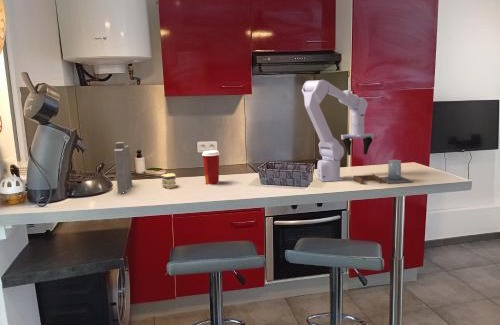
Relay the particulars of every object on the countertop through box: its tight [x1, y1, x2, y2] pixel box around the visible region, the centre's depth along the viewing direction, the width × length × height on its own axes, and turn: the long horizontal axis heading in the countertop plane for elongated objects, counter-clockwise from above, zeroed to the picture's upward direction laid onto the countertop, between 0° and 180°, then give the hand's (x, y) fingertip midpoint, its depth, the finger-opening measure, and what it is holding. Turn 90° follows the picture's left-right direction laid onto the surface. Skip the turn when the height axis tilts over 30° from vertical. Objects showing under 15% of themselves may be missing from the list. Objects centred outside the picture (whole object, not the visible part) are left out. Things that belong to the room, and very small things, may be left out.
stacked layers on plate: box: [160, 172, 177, 189], centre depth 173 cm, size 10×9×6 cm
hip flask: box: [113, 141, 133, 194], centre depth 170 cm, size 16×4×20 cm, turn 5°
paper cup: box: [201, 150, 220, 185], centre depth 177 cm, size 8×8×14 cm
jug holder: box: [353, 174, 383, 185], centre depth 171 cm, size 9×8×2 cm
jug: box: [387, 159, 402, 181], centre depth 171 cm, size 5×7×8 cm
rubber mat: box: [379, 176, 414, 185], centre depth 172 cm, size 11×11×1 cm
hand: (357, 154), depth 184 cm, fingers open, 7 cm apart
